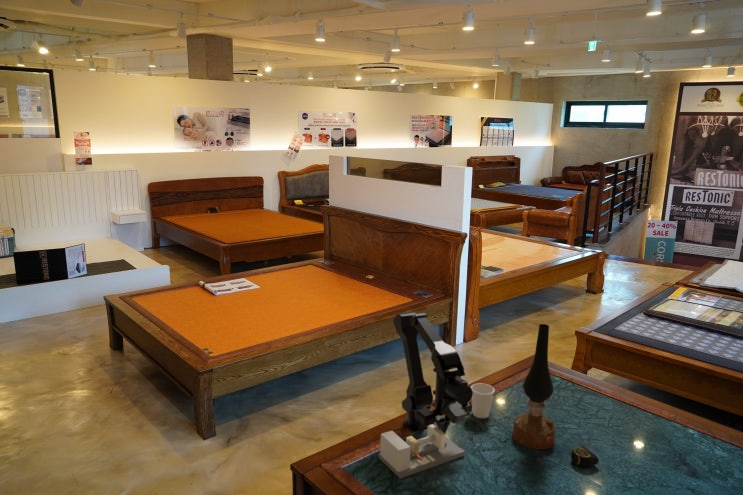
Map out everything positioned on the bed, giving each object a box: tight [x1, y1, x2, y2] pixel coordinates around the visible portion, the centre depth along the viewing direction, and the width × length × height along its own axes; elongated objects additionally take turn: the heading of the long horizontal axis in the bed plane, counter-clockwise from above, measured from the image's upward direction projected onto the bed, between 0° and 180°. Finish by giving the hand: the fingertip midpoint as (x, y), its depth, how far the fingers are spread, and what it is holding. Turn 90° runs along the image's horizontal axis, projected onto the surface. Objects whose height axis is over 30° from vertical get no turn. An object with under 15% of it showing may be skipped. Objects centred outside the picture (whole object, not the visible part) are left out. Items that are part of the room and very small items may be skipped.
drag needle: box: [405, 435, 422, 460], centre depth 166 cm, size 7×2×4 cm, turn 31°
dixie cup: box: [470, 382, 496, 419], centre depth 195 cm, size 8×8×10 cm
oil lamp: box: [511, 323, 556, 450], centre depth 179 cm, size 14×15×40 cm
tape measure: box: [570, 446, 600, 468], centre depth 169 cm, size 7×7×4 cm
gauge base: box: [377, 430, 465, 479], centre depth 169 cm, size 12×24×8 cm, turn 121°
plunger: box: [416, 424, 446, 450], centre depth 170 cm, size 7×9×5 cm
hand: (442, 435), depth 173 cm, fingers closed
